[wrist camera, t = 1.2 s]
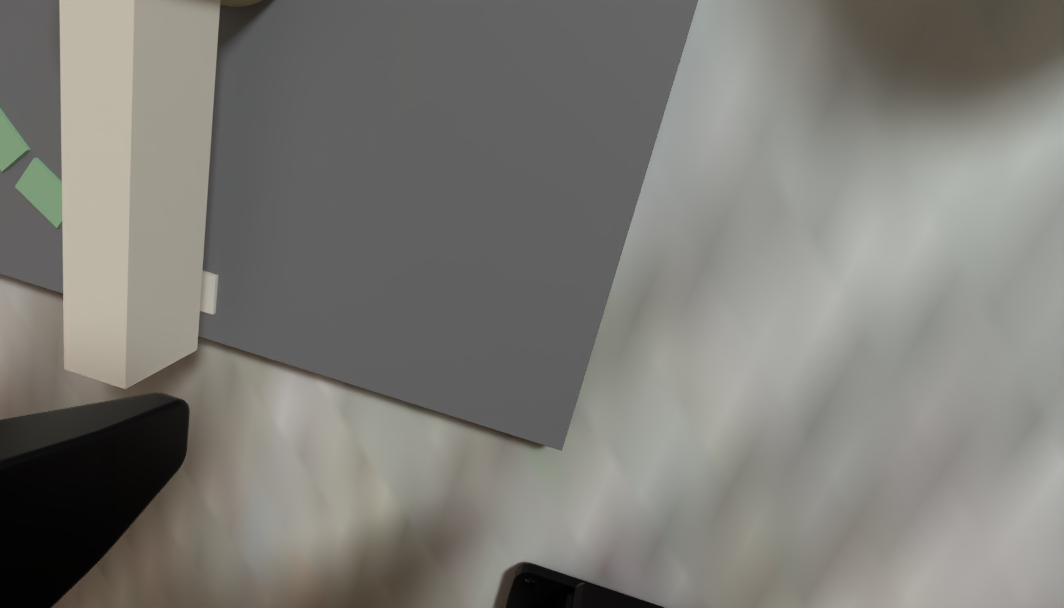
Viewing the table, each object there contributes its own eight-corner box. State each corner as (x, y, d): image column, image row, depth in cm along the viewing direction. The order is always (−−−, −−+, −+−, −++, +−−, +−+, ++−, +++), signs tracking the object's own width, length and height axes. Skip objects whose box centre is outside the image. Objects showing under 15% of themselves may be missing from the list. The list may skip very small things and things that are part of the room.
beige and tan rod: (160, -184, 14) (-14, -285, 11) (307, -150, 14) (182, -242, 10) (144, 309, 18) (14, 361, 15) (257, 344, 18) (154, 408, 14)
